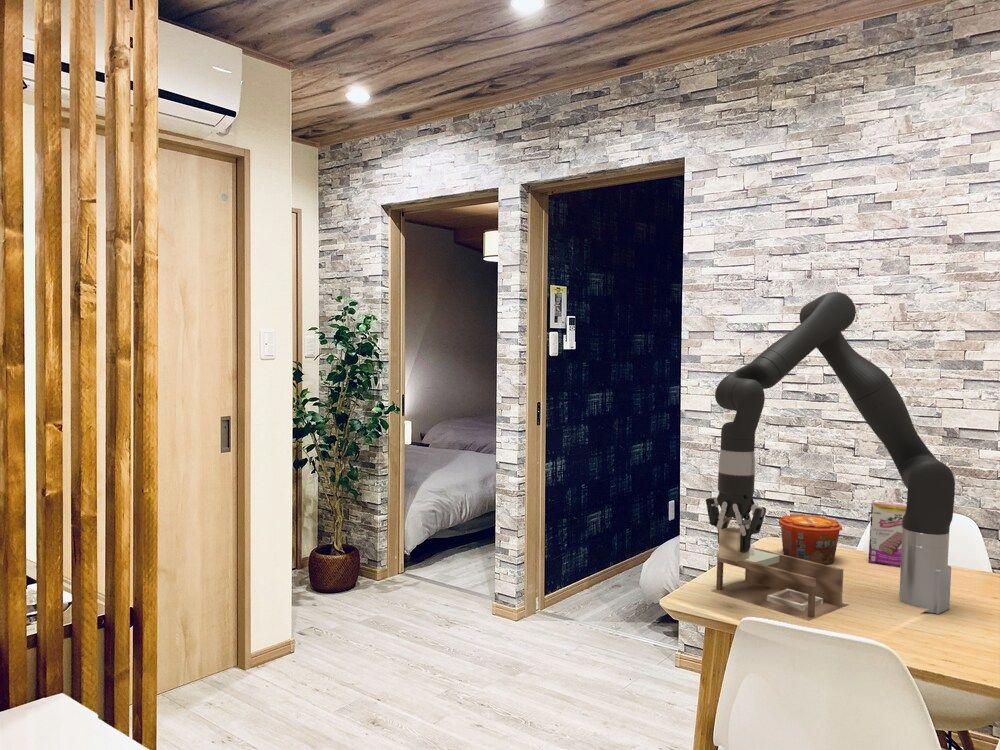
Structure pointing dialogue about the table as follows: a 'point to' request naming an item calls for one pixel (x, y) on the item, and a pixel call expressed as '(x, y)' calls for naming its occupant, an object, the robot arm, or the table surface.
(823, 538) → the food container
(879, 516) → the candy bar box
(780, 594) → the brown wooden frame
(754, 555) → the sliding cover
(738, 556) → the birch block
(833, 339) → the robot arm
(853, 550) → the table surface
